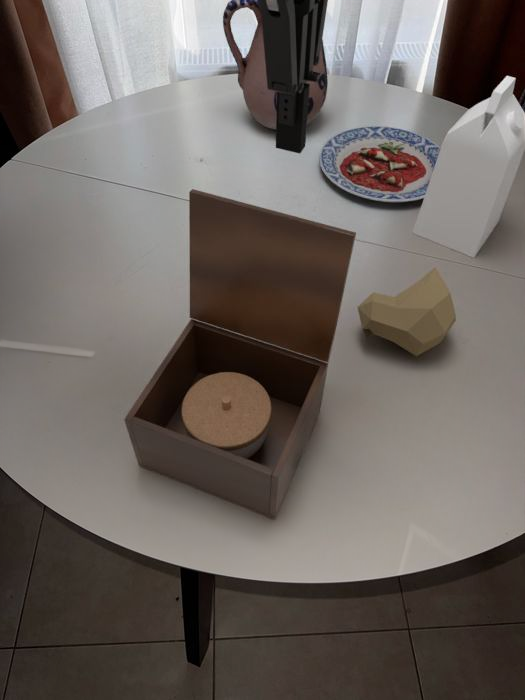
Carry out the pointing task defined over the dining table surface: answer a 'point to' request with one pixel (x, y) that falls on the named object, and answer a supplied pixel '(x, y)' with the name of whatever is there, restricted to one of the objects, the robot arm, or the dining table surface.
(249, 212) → the lid
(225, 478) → the chest
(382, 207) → the dining table surface
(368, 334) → the tan faceted lump
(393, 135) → the ceramic plate
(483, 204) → the milk
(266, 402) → the trinket box
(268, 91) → the ceramic pitcher
